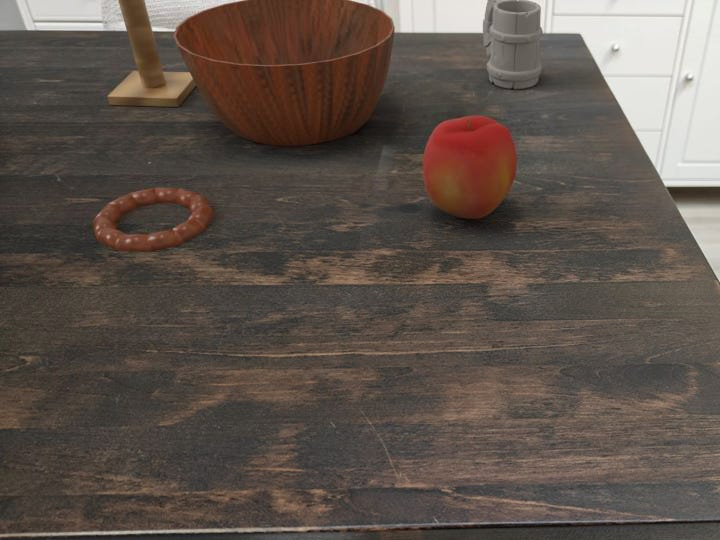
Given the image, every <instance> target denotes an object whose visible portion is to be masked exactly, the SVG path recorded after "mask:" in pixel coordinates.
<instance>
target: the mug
mask: <svg viewBox="0 0 720 540" xmlns="http://www.w3.org/2000/svg"><path fill="white" fill-rule="evenodd" d="M541 14H542V8H541V5H540V4H539V3H537V2H534V1H531V0H487V2H486V6H485V11H484V19H482V39H483V40H482V41H483V47H484V48H485V52H486V56H487V58H489V60H488V62H487V63H486V72H487V73H488V81H489V82H490V83H491V84H494V85H495V86H497V87H498V88H504V89H508V90H509V89H513V90H523V89H528V88H532V87H534V86H536V85H537V83H538V82H539V79H540V77H539V76H540V75H541V74H542V70H543V66H542V63H541V61H540V49H541V48H540V46H541V38H542V36H543V33H544V31H543V27H541V17H542V16H541Z"/></svg>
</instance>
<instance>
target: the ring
mask: <svg viewBox="0 0 720 540" xmlns="http://www.w3.org/2000/svg"><path fill="white" fill-rule="evenodd" d="M157 203H159V204H161V203H162V204H163V203H164V204H176V205H180V206H181V207H185V208H187V209H188V211H189V212H190V215H189V216H188V219H187V220H185V221H183V222H182V223H179V224H178V225H176V226H175V227H173V228H170V229H166V230H162V231H157V232H153V233H149V234H145V233H126V232H124V231H121V230H119V229H118V228H117V223H119V221H120V219H121V218H122V217H123V216H124V215H125V214H127V213H129V212H131V211H133V210H134V209H136V208H138V207H139V208H140V207H143V206H148V205H153V204H157ZM214 216H215V213H214V211H213V209H212V207H211V205H210V204H209V201H208V199H207V198H206V197H205V196H204V195H202V194H199V193H197V192H195V191H192V190H189V189H186V188H183V187H163V186H162V187H160V186H157V187H152V188H146V189H142V190H137V191H132V192H129V193H125V194H124V195H122V196H120V197H118V198H116V199H114V200H112V201H110V202H107V203H106V204H105V205H104V206H103V207H102V208H101V210H100V211H99V212H98V213H97V214H96V216H95V217H94V218H93V220H92V228H93V229H92V230H93V232H94V237H95V239H96V241H97V242H98V243H100V244H102V245H104V246H107V247H109V248H111V249H114V250H115V251H119V252H153V251H159V250H162V249H166V248H170V247H174V246H178V245H182V244H184V243H186V242H187V241H189V240H191V239H194V237H196V236H198V235H200V234H201V233H203V232H204V231H206V230H207V228H208V227H209V225H210V223H211V221H212V220H213V217H214Z"/></svg>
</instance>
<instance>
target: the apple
mask: <svg viewBox="0 0 720 540" xmlns="http://www.w3.org/2000/svg"><path fill="white" fill-rule="evenodd" d="M517 161H518V159H517V150H516V146H515V142H514V138H513V135H512V134H511V132H510V130H509V129H508V128H507V127H506V126H505V125H503V124H501V123H499V122H497V121H496V120H494V119H493V118H491V117H487V116H483V115H469V116H462V117H459V118H453V119H447V120H444V121H442V122H441V123H439V124H438V125H437V126H436V127H435V128H434V129H433V131H432V133H430V136H429V138H428V140H427V142H426V145H425V149H424V154H423V159H422V178H423V183H424V187H425V190H426V192H427V193H426V194H427V195H428V197H429V199H430V200H431V202H432V203H433V204H434V205H435V207H437V208H438V209H440V210H441V211H442V212H444V213H446V214H448V215H451V216H454V217H457V218H461V219H467V220H468V219H469V220H479V219H482V218H485V217H486V216H488V215H489V214H491V213H492V212H493V211H495V210H496V209H497V208H498V206H500V204H501V203H502V202H503V201H504V199H506V197H507V195H508V194H509V192H510V190H511V189H512V186H513V184H514V181H515V177H516V173H517V166H518V162H517Z"/></svg>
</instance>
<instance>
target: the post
mask: <svg viewBox="0 0 720 540" xmlns="http://www.w3.org/2000/svg"><path fill="white" fill-rule="evenodd" d="M117 2H118V5H119V8H120V11H121V12H120V13H121V15H122V19H123V22H124V26H125V29H126V33H127V36H128V41H129V44H130V48H131V50H132V55H133V58H134V62H135V65H136V69H137V70H132V71H131V72H130V74H128V75H127V76H126V78H124V79H123V80H122V81H121V82H120V83H119V84H118V85H117V86H116V87H115V88H114V89H113V90H112V91H111V92H110V93H109V94H108V95H107V101H108V103H109V106H127V107H128V106H129V107H130V106H131V107H132V106H134V107H136V106H137V107H162V108H163V107H164V108H166V107H167V108H180V106H181V105H182V104H183V102H185V100H186V99H187V98H188V97H189V95H191V93H192V92H193V90H194V89H195V88H196V87H197V86H196V84H195V82H194V80H193V78H192V76H191V74H190V72H189V71H164V70H163V65H162V62H161V59H160V54H159V50H158V47H157V41H156V39H155V36H154V32H153V31H154V30H153V28H152V24H151V20H150V16H149V12H148V8H147V5H146V1H145V0H117Z"/></svg>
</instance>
